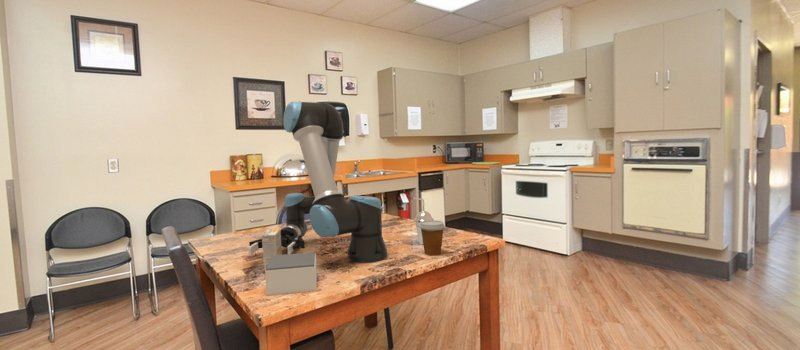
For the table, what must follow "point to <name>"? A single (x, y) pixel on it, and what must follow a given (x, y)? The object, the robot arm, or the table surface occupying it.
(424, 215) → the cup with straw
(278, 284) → the riser block
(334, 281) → the table surface
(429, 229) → the disposable coffee cup
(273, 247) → the supplement box
